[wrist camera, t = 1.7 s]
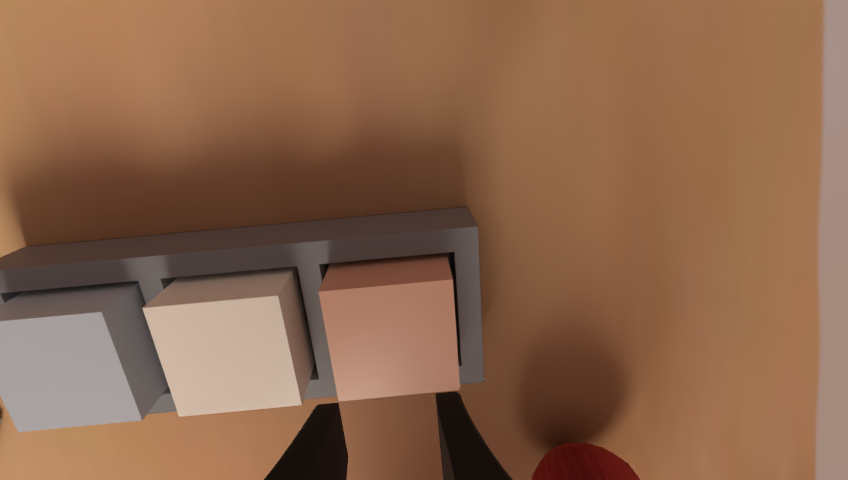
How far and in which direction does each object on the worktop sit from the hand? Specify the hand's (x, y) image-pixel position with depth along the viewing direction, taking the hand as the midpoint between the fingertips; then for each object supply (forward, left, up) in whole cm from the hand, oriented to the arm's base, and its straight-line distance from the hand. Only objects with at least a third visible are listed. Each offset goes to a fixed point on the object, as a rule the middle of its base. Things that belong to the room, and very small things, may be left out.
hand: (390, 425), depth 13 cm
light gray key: (-11, -7, -7) cm, 15 cm away
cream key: (-6, -3, -7) cm, 10 cm away
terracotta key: (0, 0, -7) cm, 7 cm away
